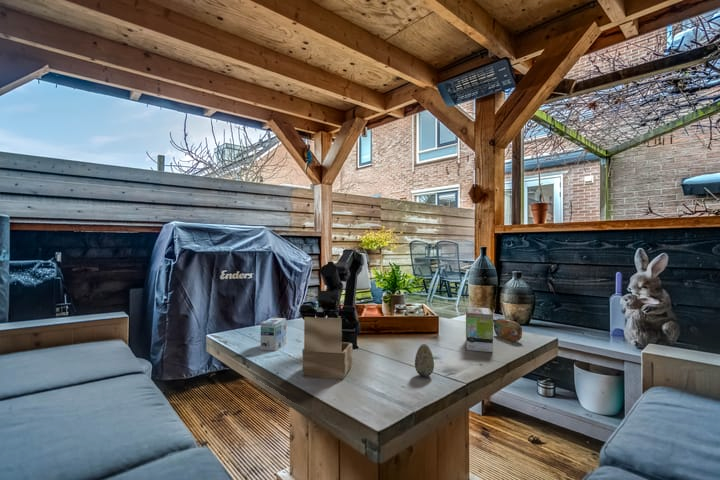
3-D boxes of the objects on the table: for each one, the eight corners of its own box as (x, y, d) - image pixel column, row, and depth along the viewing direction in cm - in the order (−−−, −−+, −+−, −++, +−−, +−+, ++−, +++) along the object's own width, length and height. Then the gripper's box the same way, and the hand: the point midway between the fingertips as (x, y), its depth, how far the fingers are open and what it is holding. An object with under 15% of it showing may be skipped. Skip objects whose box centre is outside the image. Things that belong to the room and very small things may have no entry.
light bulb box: (275, 351, 135) (275, 323, 135) (259, 350, 136) (259, 322, 136) (286, 343, 145) (286, 317, 145) (272, 342, 147) (272, 317, 147)
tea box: (494, 352, 132) (493, 313, 132) (466, 350, 135) (466, 312, 135) (490, 342, 147) (490, 307, 147) (465, 340, 149) (465, 306, 150)
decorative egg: (424, 381, 104) (424, 348, 104) (410, 375, 109) (410, 343, 109) (438, 377, 108) (438, 344, 108) (424, 371, 113) (423, 340, 113)
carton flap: (304, 316, 109) (304, 317, 109) (341, 318, 106) (341, 318, 106) (304, 350, 109) (304, 350, 108) (341, 352, 106) (341, 353, 106)
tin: (493, 335, 158) (493, 316, 158) (499, 334, 159) (498, 316, 159) (517, 344, 144) (517, 323, 144) (523, 343, 145) (523, 323, 145)
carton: (314, 363, 120) (314, 340, 120) (353, 366, 117) (353, 342, 117) (301, 376, 109) (301, 350, 109) (344, 379, 106) (344, 352, 106)
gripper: (300, 280, 115) (287, 320, 104) (355, 281, 111) (347, 323, 100) (309, 299, 123) (297, 339, 112) (360, 301, 119) (353, 342, 108)
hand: (323, 336), depth 108 cm, fingers closed, pressing on carton flap
